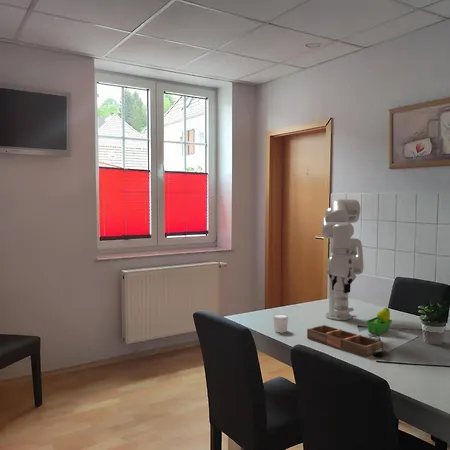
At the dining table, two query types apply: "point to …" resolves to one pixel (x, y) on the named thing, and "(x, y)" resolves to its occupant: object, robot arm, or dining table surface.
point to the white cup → (280, 323)
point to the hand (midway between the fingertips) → (341, 290)
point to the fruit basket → (380, 322)
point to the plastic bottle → (340, 300)
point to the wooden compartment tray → (344, 340)
